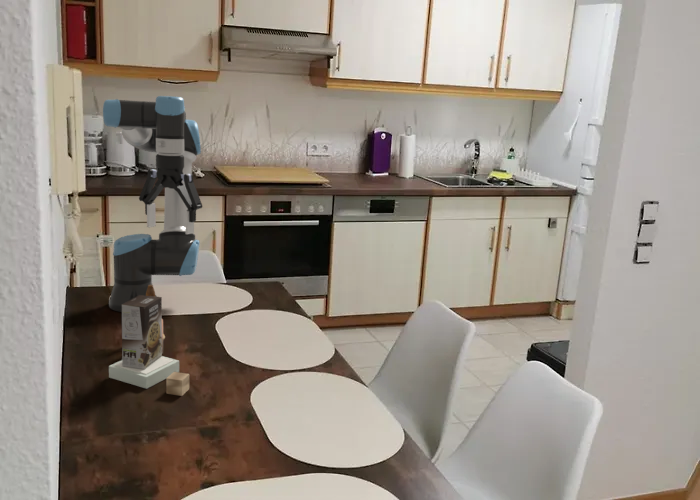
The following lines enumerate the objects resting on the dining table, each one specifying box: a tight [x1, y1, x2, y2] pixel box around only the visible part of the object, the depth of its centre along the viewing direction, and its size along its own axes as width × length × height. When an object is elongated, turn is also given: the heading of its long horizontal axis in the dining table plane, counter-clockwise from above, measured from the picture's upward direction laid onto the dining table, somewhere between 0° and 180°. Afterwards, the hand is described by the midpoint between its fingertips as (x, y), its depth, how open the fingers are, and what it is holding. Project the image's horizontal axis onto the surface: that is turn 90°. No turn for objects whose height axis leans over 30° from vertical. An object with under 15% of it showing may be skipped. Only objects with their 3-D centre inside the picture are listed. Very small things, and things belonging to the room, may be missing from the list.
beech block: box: [165, 371, 190, 397], centre depth 160 cm, size 4×4×4 cm
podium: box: [108, 355, 180, 389], centre depth 168 cm, size 12×12×3 cm
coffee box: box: [121, 295, 163, 369], centre depth 166 cm, size 9×6×16 cm
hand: (170, 230), depth 187 cm, fingers open, 13 cm apart
